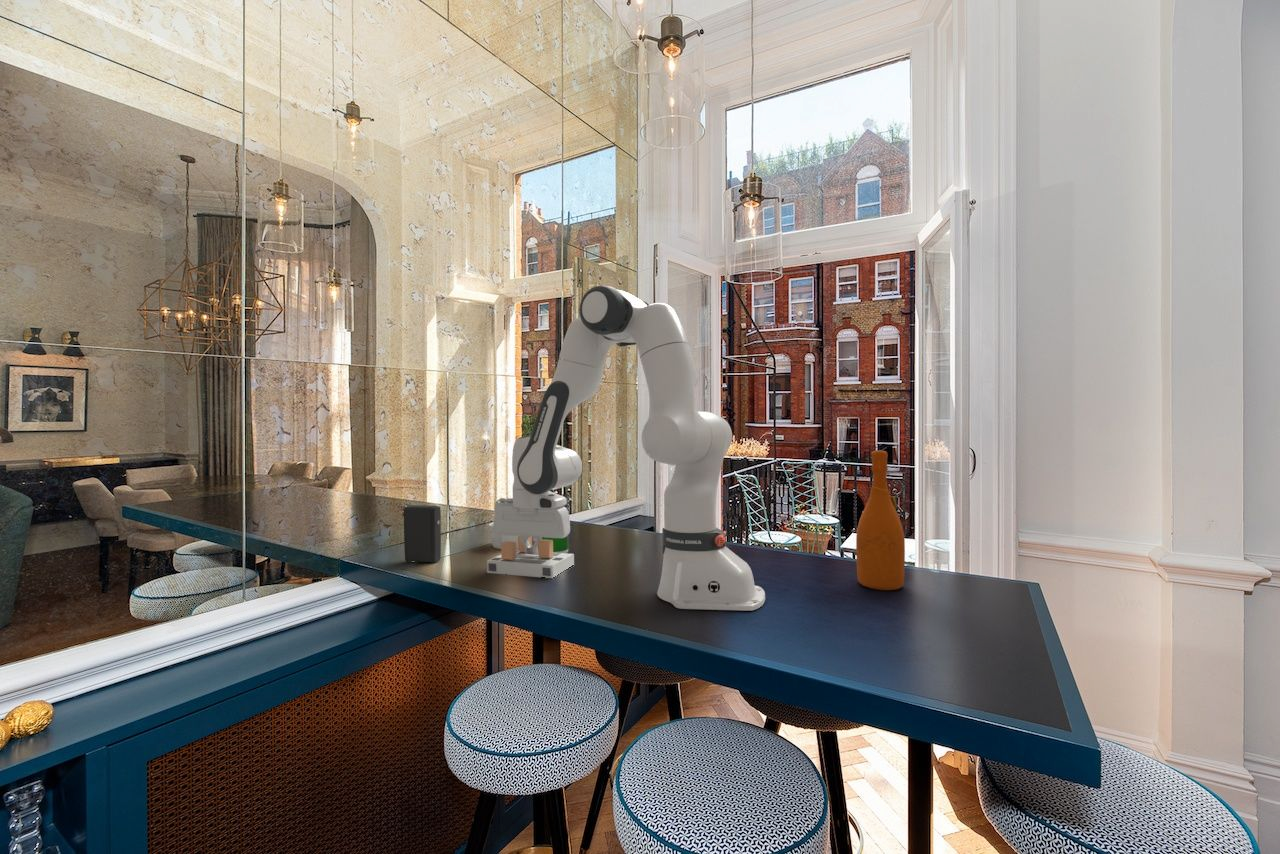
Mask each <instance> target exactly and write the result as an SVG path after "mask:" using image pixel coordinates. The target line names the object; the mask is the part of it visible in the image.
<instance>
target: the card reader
mask: <svg viewBox="0 0 1280 854" xmlns="http://www.w3.org/2000/svg"><path fill="white" fill-rule="evenodd" d="M441 520H442V516H441V507H440V506H438V505H429V504H428V505H421V504H420V505H418V504H417V505H416V504H413V505H407V506H405V507H404V508H403V546H404V547H403V548H404V560H405V562H408V561H415V562H414V563H417V562H434V563H437V562H439V561H440V560H441V555H442V549H441V548H442V525H441V522H442V521H441Z"/></svg>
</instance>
